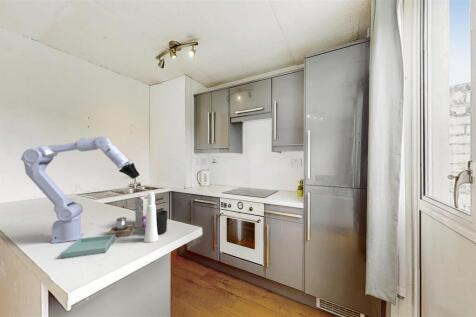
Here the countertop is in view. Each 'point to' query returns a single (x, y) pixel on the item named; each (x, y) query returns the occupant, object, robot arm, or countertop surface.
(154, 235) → the cosmetic bottle
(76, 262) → the countertop surface
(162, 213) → the pen holder
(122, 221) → the steel pin
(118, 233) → the socket block
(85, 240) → the tray
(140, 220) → the candy bar box
